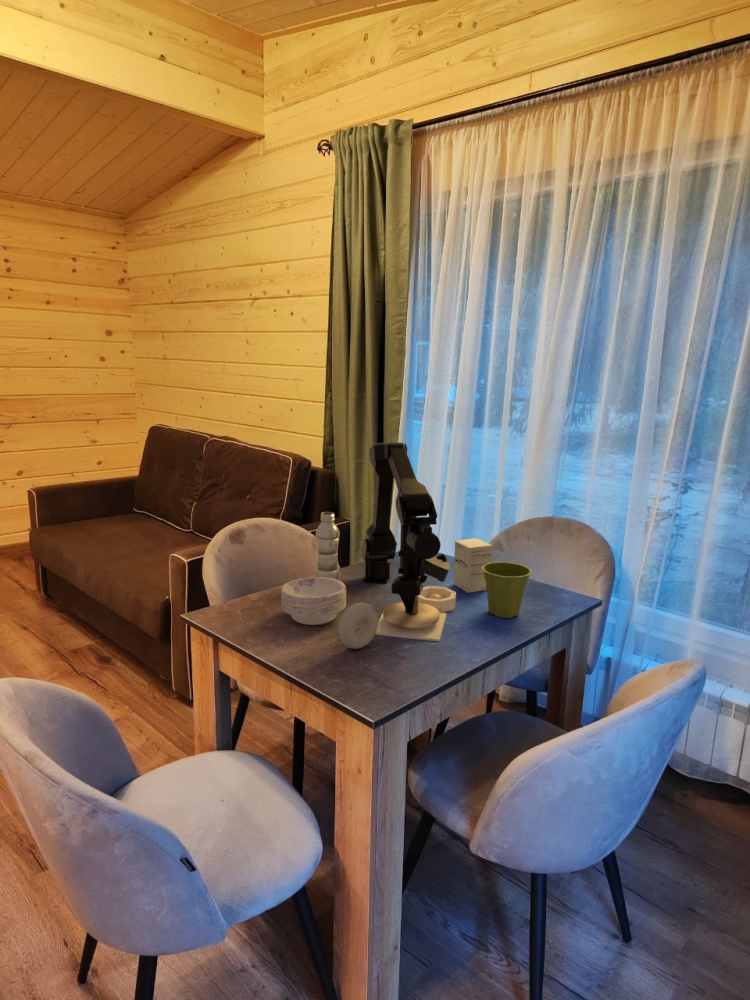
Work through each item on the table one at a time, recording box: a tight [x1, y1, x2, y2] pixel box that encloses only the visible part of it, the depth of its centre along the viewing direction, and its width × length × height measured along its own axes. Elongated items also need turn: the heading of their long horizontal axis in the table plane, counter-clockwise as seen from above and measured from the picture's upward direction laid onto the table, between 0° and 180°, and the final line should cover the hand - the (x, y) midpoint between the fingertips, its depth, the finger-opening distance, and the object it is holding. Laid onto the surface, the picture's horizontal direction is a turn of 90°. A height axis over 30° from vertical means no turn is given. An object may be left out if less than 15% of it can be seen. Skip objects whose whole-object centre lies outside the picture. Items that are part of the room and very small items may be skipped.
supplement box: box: [452, 537, 493, 594], centre depth 171 cm, size 7×7×13 cm
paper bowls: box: [280, 576, 347, 626], centre depth 150 cm, size 15×15×8 cm
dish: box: [418, 585, 457, 613], centre depth 159 cm, size 10×10×4 cm
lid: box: [382, 596, 440, 628], centre depth 147 cm, size 13×13×5 cm
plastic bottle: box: [315, 511, 341, 581], centre depth 170 cm, size 6×7×20 cm
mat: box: [374, 606, 447, 642], centre depth 147 cm, size 15×15×1 cm
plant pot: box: [482, 561, 533, 619], centre depth 154 cm, size 12×12×11 cm
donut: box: [337, 602, 379, 650], centre depth 134 cm, size 10×4×10 cm, turn 131°
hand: (411, 610), depth 147 cm, fingers closed on lid, 3 cm apart
